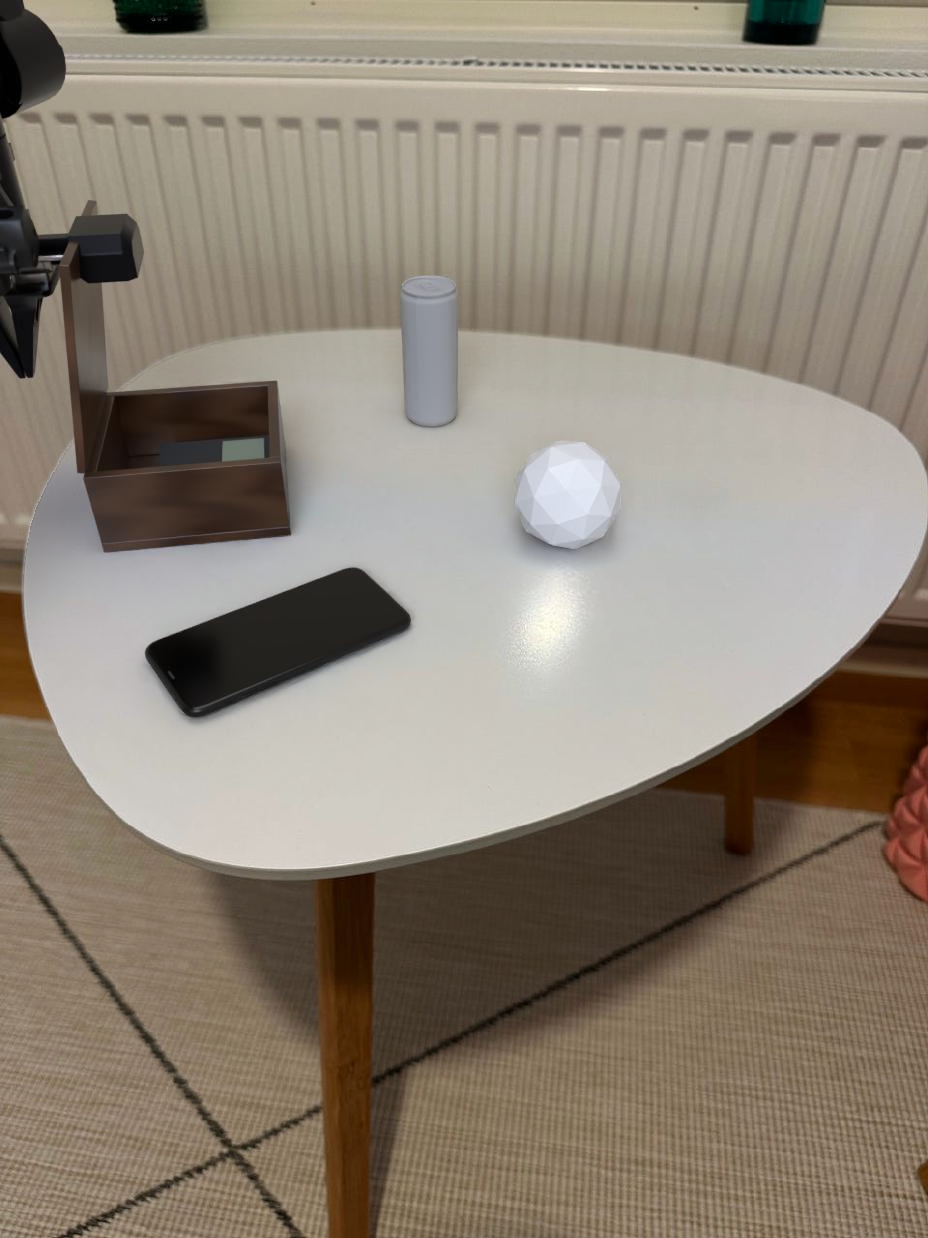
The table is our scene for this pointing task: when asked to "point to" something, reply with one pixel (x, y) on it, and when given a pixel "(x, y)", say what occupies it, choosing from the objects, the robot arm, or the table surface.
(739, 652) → the table surface
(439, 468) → the table surface
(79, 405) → the case lid
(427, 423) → the beverage can
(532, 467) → the geometric ball
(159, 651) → the smartphone
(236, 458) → the black lcd device
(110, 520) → the case
